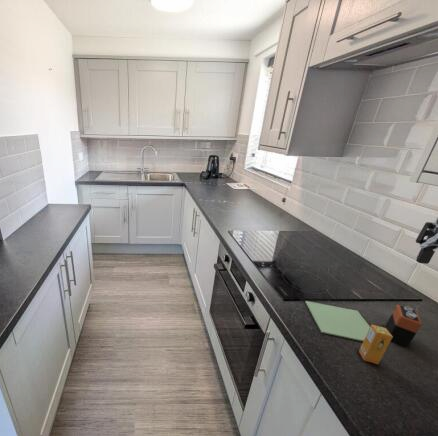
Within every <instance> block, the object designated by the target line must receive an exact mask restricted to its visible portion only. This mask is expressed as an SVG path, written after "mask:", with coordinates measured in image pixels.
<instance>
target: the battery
mask: <svg viewBox="0 0 438 436" xmlns="http://www.w3.org/2000/svg"><path fill="white" fill-rule="evenodd" d="M384 326H385V327H384V328H386V329H387V330H388V331H389V333H390V334H391V335H392V336H393V338H392V339H391V342H394V343H397V344H399V345H401V346H404V347H409V346H410V344H411V342H412V341H413V340H414V338H415V336H416V335H417V333H418V332H419V330H420V328H421V327H422V326H423V323H422V321H421V318H420V316H419V313H418V311H417V310H415V309H414V308H413V307H411V306H408V305H405V306H404V305H401V304H396V306H395V307H394V309H393V311H392V312H391V315H390V316H389V318H388V320H387V322H386V323H385V325H384Z"/></svg>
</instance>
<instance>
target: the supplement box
mask: <svg viewBox="0 0 438 436" xmlns="http://www.w3.org/2000/svg"><path fill="white" fill-rule="evenodd" d="M369 326H370V328H369V331H368V333H367V335H366V337H365V339H364V341H362V344H361V346H360V348H359V350H358V352H359V355H360V356H361V359H362V360H363V361H364V362H368V363H372V364H374V365H379V364H380V362H381V360H382V358H383V357H384V355H385V352H386V350H387V349H388V347H389V346H390V344H391V342H392V340H391V339H392V338H393V336H392V335H391V334H390V333H389V331H388V330H387V329H386V327H383V326H379V325H375V324H371V325H369Z"/></svg>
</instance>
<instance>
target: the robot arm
mask: <svg viewBox="0 0 438 436" xmlns="http://www.w3.org/2000/svg"><path fill="white" fill-rule="evenodd" d="M415 243H416V244H419V248H420V250H419V252H418V254H417V256H416V260H415V261H416V262H417V263H418V264H423V265H424V264H425V265H428V264H429V263H430V262H431V260H432V258H433V256H434V254H435V253H436V251H435V250H437V249H438V218H437V219H436V220H435V222H434V221H433V222H431V221H430V222H429V221H426V222H425V223H424V225H423V227H422V228H421V230H420V232H419V233H418V235H417V237H416V239H415Z"/></svg>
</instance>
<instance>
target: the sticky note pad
mask: <svg viewBox="0 0 438 436" xmlns="http://www.w3.org/2000/svg"><path fill="white" fill-rule="evenodd" d="M305 304H306V306H307V309H308V310H309V312H310V314H311V316H312V318H313V320H314V322H315V324H316V326H317V327H318V329H319V331H320V334H321V333H322V334H327V335H329V336H335V337H340V338H344V339H349V340H354V341H358V342H363V341H364V339H365V337H366V335H367V333H368V331H369V328H370V326H371V325H369V324H368V322H367V321H366V320H365V318H364V317H363V316H362V315H361V313H360V312H359V311H358V310H357V309H351V308H345V307H340V306H335V305H330V304H324V303H318V302H315V301H309V300H305Z"/></svg>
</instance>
